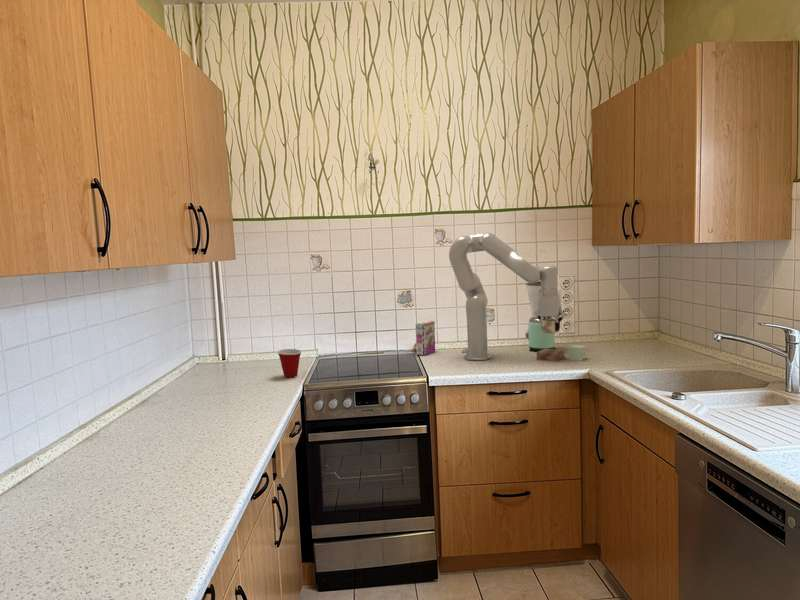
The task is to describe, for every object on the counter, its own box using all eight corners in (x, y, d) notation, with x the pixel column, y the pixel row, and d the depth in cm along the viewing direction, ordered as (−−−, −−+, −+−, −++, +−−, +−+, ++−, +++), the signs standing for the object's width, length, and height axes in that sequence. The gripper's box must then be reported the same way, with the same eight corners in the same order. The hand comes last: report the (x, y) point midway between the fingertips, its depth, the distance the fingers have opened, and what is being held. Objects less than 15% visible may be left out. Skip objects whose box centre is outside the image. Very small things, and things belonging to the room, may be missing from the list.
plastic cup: (297, 379, 263) (295, 352, 262) (275, 379, 266) (273, 352, 264) (307, 373, 273) (305, 348, 272) (285, 373, 276) (283, 348, 275)
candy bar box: (424, 356, 302) (423, 324, 300) (416, 355, 305) (414, 323, 303) (436, 351, 311) (434, 320, 309) (428, 351, 314) (426, 320, 312)
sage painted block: (568, 359, 279) (568, 347, 278) (573, 357, 284) (573, 344, 283) (580, 360, 275) (580, 348, 275) (585, 358, 280) (585, 345, 279)
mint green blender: (520, 350, 304) (519, 282, 300) (532, 346, 314) (531, 280, 310) (555, 354, 292) (554, 283, 288) (567, 349, 302) (566, 280, 298)
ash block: (542, 332, 281) (541, 320, 280) (547, 331, 285) (547, 318, 285) (553, 333, 277) (553, 320, 276) (559, 331, 281) (559, 319, 281)
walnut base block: (536, 360, 281) (536, 352, 281) (544, 356, 289) (544, 348, 289) (557, 362, 276) (557, 353, 275) (564, 358, 284) (564, 349, 283)
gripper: (529, 293, 282) (530, 330, 284) (563, 293, 271) (564, 332, 273) (536, 291, 287) (537, 328, 289) (570, 291, 277) (571, 330, 278)
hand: (550, 330), depth 281 cm, fingers closed on ash block, 6 cm apart
